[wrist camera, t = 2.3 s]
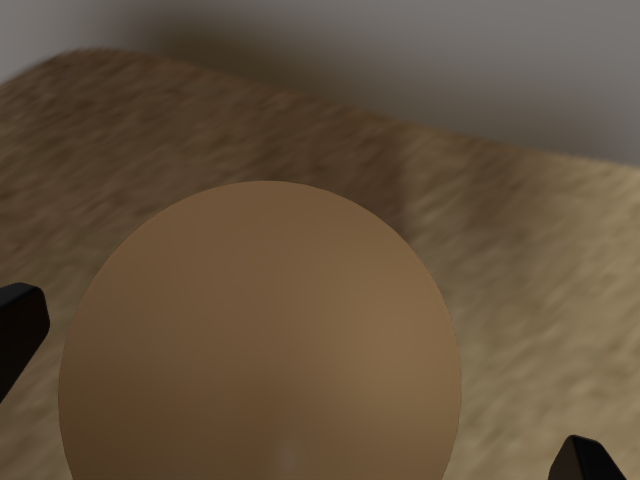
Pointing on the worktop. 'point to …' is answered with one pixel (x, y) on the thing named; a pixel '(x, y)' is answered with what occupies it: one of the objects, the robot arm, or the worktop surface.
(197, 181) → the worktop surface
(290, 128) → the worktop surface
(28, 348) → the robot arm
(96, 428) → the tan rounded stopper
